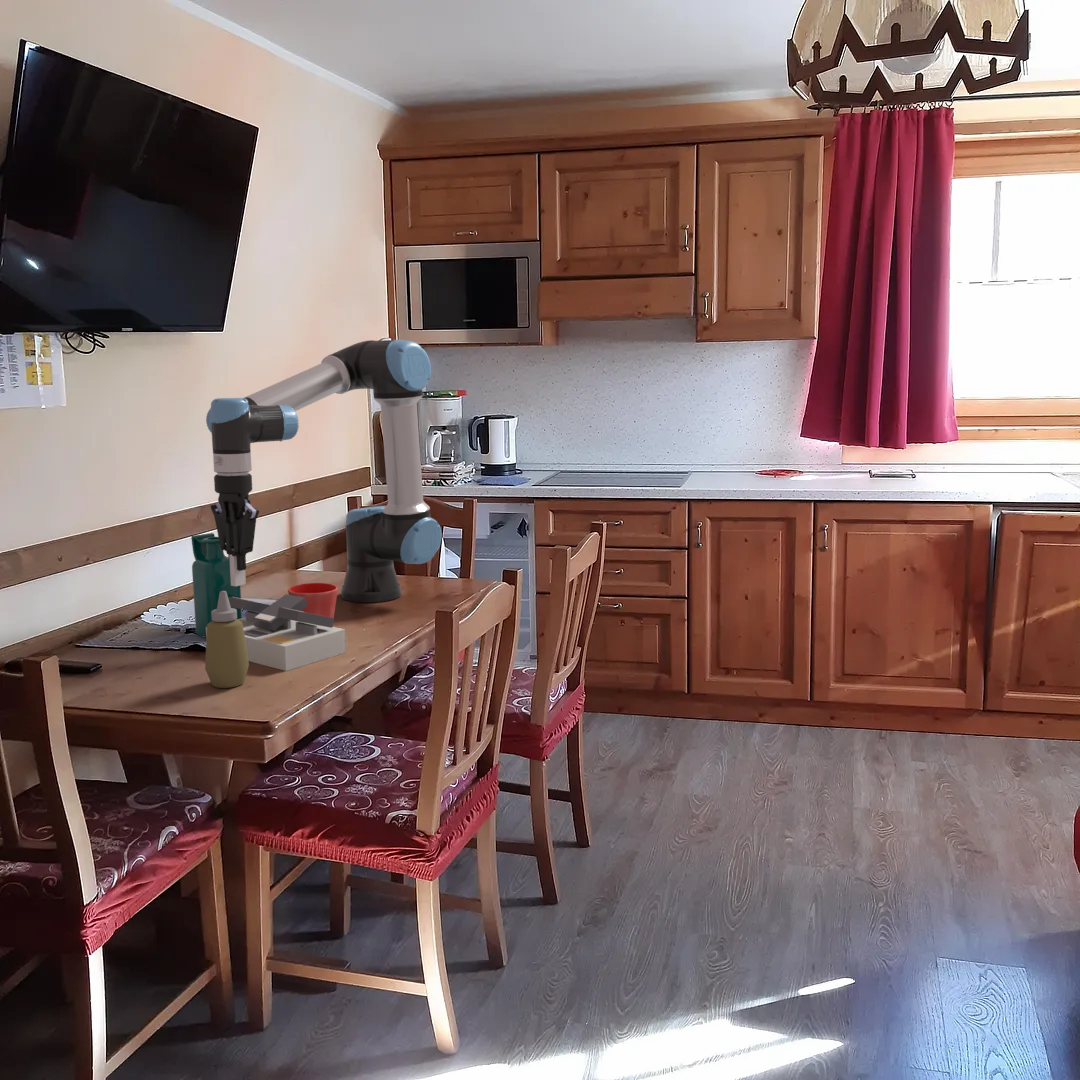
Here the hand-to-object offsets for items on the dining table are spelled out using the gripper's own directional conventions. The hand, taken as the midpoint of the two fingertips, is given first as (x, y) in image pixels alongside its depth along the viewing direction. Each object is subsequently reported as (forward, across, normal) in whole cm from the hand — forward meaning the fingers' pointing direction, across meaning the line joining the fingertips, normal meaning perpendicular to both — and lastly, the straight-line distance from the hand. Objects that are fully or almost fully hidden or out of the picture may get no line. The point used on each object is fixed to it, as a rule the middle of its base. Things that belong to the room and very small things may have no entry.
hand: (238, 584), depth 223 cm
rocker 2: (+6, +8, +4) cm, 11 cm away
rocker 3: (+6, +16, +4) cm, 17 cm away
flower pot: (+14, +1, +20) cm, 24 cm away
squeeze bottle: (+14, +18, -17) cm, 29 cm away
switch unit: (+14, +8, +3) cm, 16 cm away
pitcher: (+14, -14, +5) cm, 20 cm away
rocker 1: (+6, 0, +4) cm, 7 cm away
